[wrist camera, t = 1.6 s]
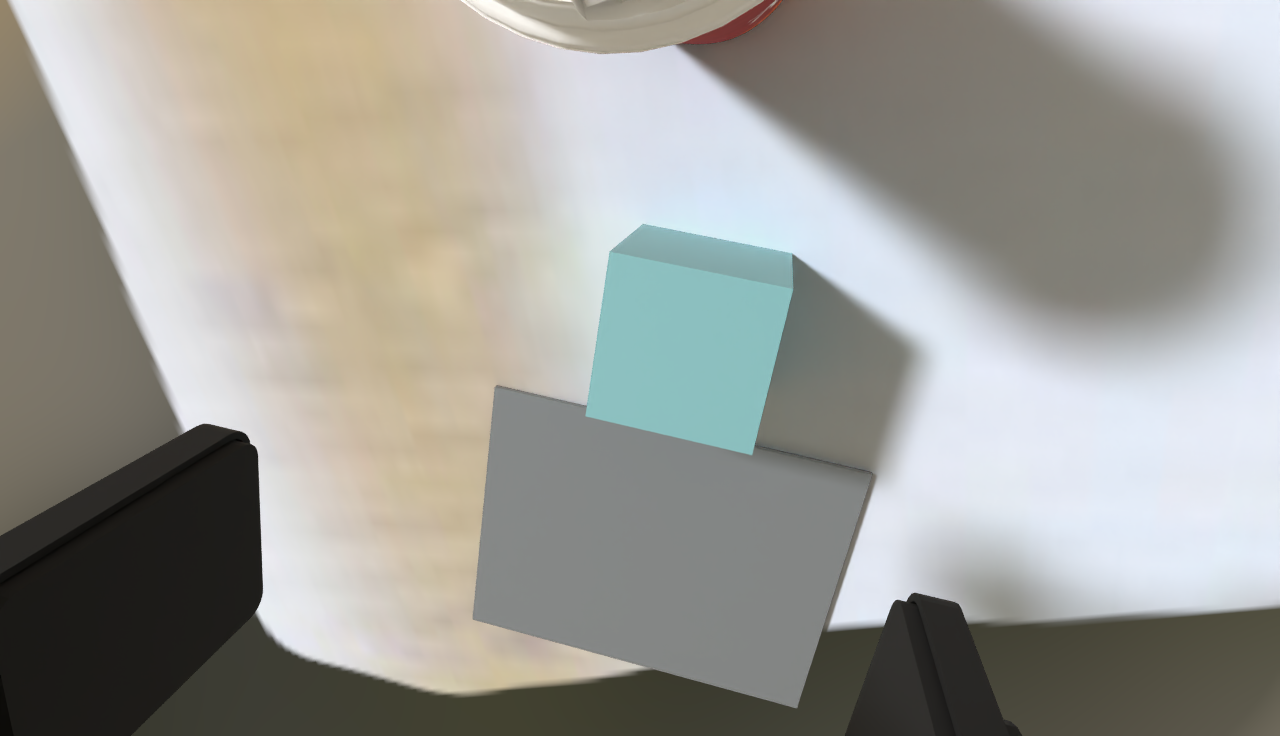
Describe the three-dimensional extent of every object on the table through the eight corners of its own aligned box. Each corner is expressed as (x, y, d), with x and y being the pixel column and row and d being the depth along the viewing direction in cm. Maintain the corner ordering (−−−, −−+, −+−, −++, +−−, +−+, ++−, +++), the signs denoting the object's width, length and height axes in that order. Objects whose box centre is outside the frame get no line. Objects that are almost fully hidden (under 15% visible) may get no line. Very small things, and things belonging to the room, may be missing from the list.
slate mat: (871, 472, 25) (872, 474, 25) (796, 704, 29) (796, 708, 29) (496, 385, 27) (494, 387, 27) (474, 616, 31) (472, 619, 31)
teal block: (792, 253, 23) (793, 289, 19) (758, 391, 25) (751, 455, 21) (643, 223, 24) (609, 251, 19) (621, 361, 26) (585, 416, 21)
